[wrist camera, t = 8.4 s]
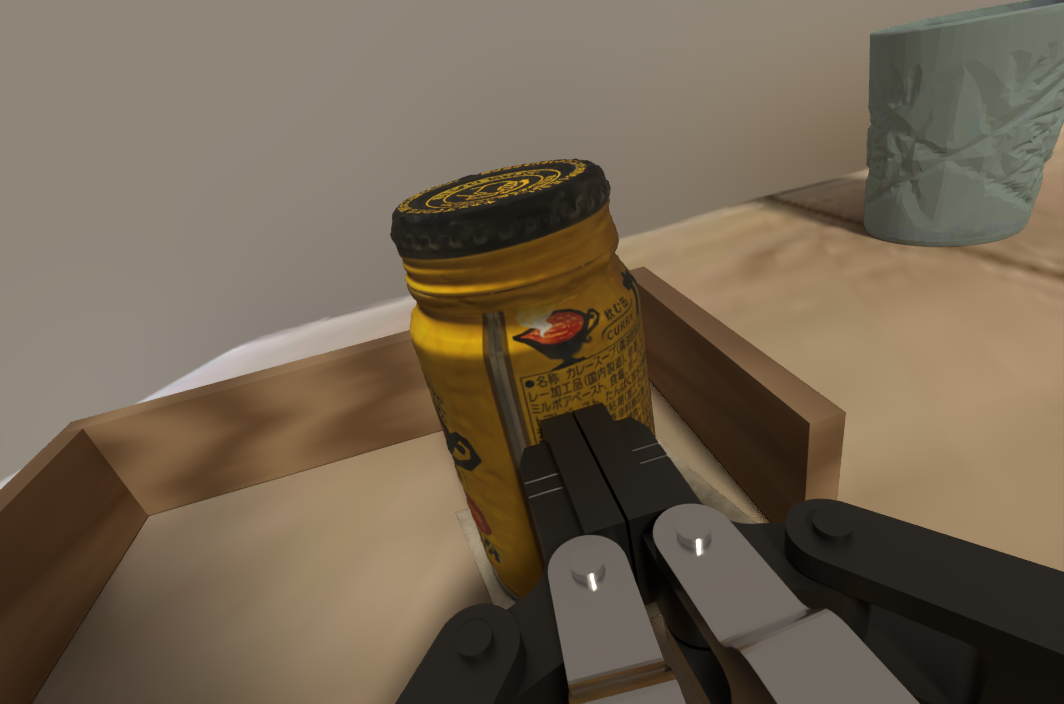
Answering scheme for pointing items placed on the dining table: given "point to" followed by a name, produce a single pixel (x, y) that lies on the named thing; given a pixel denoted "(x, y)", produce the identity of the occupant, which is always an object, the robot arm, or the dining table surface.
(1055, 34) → the blue-grey cup
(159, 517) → the dining table surface
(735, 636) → the robot arm
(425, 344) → the condiment
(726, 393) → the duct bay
